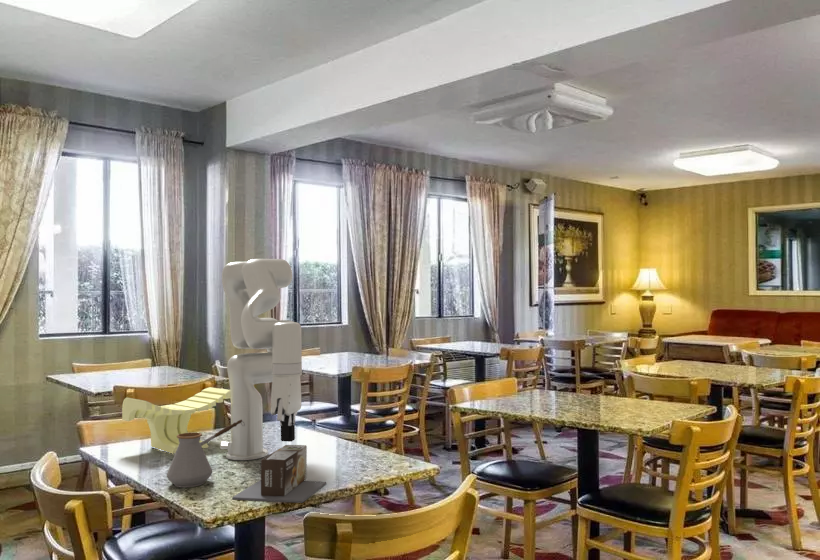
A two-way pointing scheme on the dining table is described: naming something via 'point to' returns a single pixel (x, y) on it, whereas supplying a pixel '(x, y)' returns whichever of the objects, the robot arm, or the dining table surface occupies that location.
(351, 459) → the dining table surface
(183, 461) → the coffee pot
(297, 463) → the coffee box
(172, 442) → the slatted curved stool
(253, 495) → the mat
